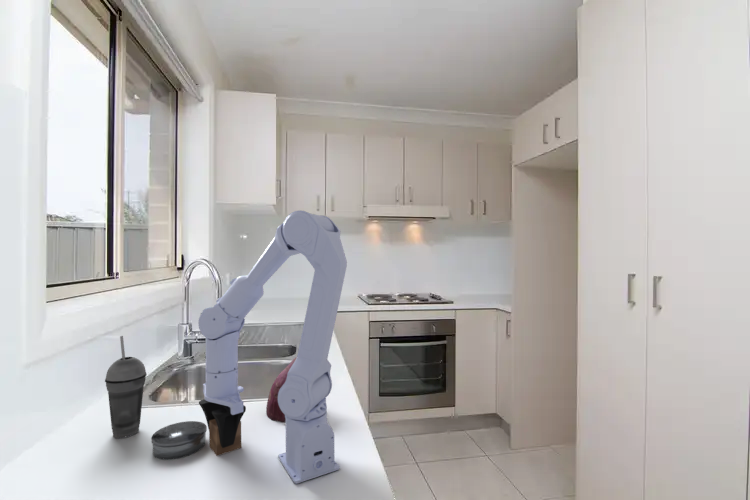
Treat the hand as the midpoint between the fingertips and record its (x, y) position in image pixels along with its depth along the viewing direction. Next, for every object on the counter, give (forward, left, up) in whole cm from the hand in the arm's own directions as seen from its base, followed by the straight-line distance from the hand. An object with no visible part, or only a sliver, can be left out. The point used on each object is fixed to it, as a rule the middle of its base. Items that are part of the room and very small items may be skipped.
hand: (221, 440), depth 71 cm
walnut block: (0, -1, -2) cm, 2 cm away
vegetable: (+9, -16, -2) cm, 18 cm away
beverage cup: (+17, +16, -2) cm, 23 cm away
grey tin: (+5, +7, -2) cm, 9 cm away
